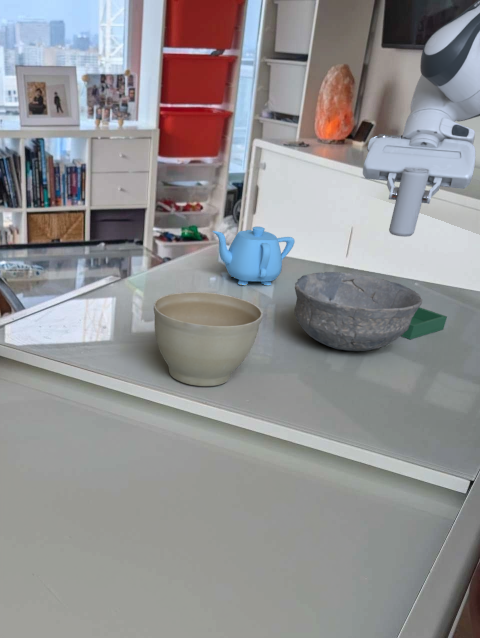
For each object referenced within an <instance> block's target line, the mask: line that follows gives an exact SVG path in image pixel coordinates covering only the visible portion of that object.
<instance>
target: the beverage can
mask: <svg viewBox="0 0 480 638" xmlns="http://www.w3.org/2000/svg"><path fill="white" fill-rule="evenodd" d="M428 172H429V170H428V169H425V168H419V167H405V168H404V171H403V173H402V177H401V181H400V182H399V186H398V187H399V189H398V194H397V198H396V200H395V202H394V206H393V212H392V215H391V219H390V224H389V228H388V232H389V233H390V235H392V236H396V237H402V238H403V237H404V238H405V237H411V236H413V235H414V233H415V230H416V226H417V223H418V219H419V215H420V211H421V207H422V204H423V203H422V199H423V195H424V192H425V190H426V187H427V185H426V184H427V180H428V176H429V173H428Z"/></svg>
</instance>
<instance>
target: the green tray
mask: <svg viewBox="0 0 480 638" xmlns="http://www.w3.org/2000/svg"><path fill="white" fill-rule="evenodd" d="M447 317H448V316H446V315H444V314H441V313H438V312H435V311H432V310H429V309H425V308H424V307H421V306H420V307H419V308H418V310H417V311H416V312H415V314H414V316H413V317H412V320H411V323H410V325H409V328H408V330H407V331H406V332H405V333H404V334H403V335H401V336H400V337H403V338H404V339H408V340H413V339H416V338H420V337H423V336H426V335H430V334H433V333H436V332H440V331H443V330H444V329H445V326H446V322H447V319H448V318H447Z"/></svg>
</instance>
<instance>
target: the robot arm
mask: <svg viewBox="0 0 480 638" xmlns="http://www.w3.org/2000/svg"><path fill="white" fill-rule="evenodd" d="M419 67H420V77H419V79H418V80H417V83H416V85H415V88H414V91H413V95H412V98H411V102H410V113H409V115H408V116H407V118H406V120H405V124H404V128H403V132H402V135H401V134H386V133H378V135H375V136H372V137H371V138H370V139H369V140H368V143H367V146H366V147H367V148H366V150H367V153H366V156H365V160H364V163H363V166H362V175H363V177H364V179H365V180H373V181H374V180H375V181H383V182H386V187H387V189H388V192H389V195H388V200H391V201H393V200H394V201H396V198H397V194H398V189H399V186H395V184H396V183H400V181H401V177H402V173H403V171H404V168H405V167H419V168H425V169H428V170H429V172H428V173H429V176H428V180H427V184H426V186H431V188H430V189H429V190H427V189H425V192H424V195H423V199H422V204H428V205H429V204H430V202H431V199H432V197H434V195H436V194H437V192H439V191H440V188H441V187H442V188H443V187H444V188H452V189H461V190H463V189H467V187H468V186H470V184H471V183H472V180H473V179H472V178H473V175H474V171H475V166H476V158H477V157H476V155H477V154H476V153H477V151H476V147H475V145H474V142H475V137H476V131H475V130H474V129H473V128H471V127H469V126H465V125H463V124H460V123H458V122H465V121H467V120H471V119H474V118H479V117H480V0H476V1H475V2H474V3H472V4H471V5H470V6H469V7H468V8H466V9H465V10H464V11H462V13H460V14H459V15H456V17H454V18H452V19H451V20H449V21H448V22H446V23H444V24H443V25H442V26H440V27H439V28H438V29H437V30H435V32H433V33H432V34H431V35H430V36H429V37H428V39H427V40H426V42H425V43H424V45H423V48H422V52H421V55H420V66H419Z"/></svg>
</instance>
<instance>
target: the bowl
mask: <svg viewBox="0 0 480 638" xmlns="http://www.w3.org/2000/svg"><path fill="white" fill-rule="evenodd" d="M294 290H295V295H296V301H295V306H294V315H295V318H296V321H297V322H298V324H299V325H300V326H301V328H302V329H303V331H304V332H305V333H306V334H307V335H308V336H309V337H311V338H312V339H314V340H315V341H317V342H318V343H321V344H322V345H325V346H327V347H330V348H332V349H335V350H343V351H352V352H353V351H354V352H355V351H356V352H360V351H361V352H366V351H372V350H377V349H380V348H383V347H385V346H387V345H389V344H391V343H393V342H394V341H395V340H397V339H399V338H400V337H402V336H401V335H403V334H404V333H405V332H406V331H407V330H408V328H409V325H410V323H411V320H412V317H413V316H414V314H415V312H416V311H417V310H418V308H419V307H420V308H421V305H422V304H423V298H422V297H421V295H420V294H419V293H417V292H416V290H414V289H411V288H409V287H407V286H406V285H404V284H402V283H398V282H394V281H391V280H388V279H383V278H379V277H375V276H374V277H373V276H370V275H363V274H359V273H352V272H341V271H325V272H322V271H319V272H312V273H308V274H303V275H302V276H301V277H299V278H297V280H296V282H295V283H294Z"/></svg>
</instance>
